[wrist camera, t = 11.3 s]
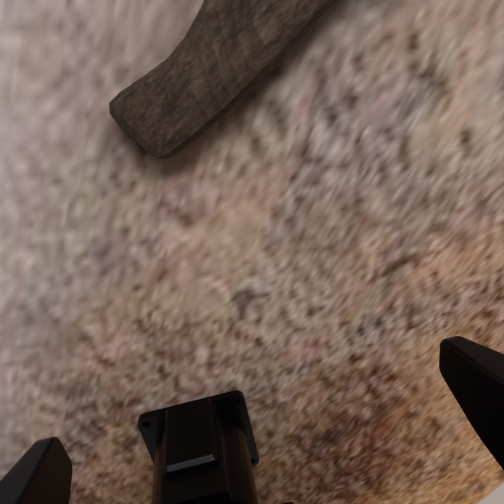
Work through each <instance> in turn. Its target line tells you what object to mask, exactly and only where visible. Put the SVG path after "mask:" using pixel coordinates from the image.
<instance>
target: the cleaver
mask: <svg viewBox="0 0 504 504" xmlns="http://www.w3.org/2000/svg"><path fill="white" fill-rule="evenodd" d="M334 1H335V0H204V2H203V4H202V6H201V8H200V10H199V12H198V14H197V16H196V18H195V19H194V21H193V23H192V25H191V27H190V29H189V31H188V32H187V34H186V36H185V38H184V39H183V40H182V41H181V43H180V44H179V45H178V46H177V47H176V49H175V50H174V51H173V52H172V54H171V55H170V56H169V57H168V58H167V59H166V60H165V61H163V62H162V63H161V64H159V65H158V66H157V67H155V68H154V69H153V70H151V71H150V72H149V73H147V74H146V75H145V76H143V77H142V78H141V79H139V80H138V81H136V82H135V83H133V84H132V85H130V86H129V87H127V88H126V89H124V90H123V91H121V92H120V93H119V94H118V95H117V96H116V97H115V98H114V99H113V100H112V101H111V102H110V103H109V106H110V114H111V115H112V117H113V118H114V119H115V121H116V122H117V123H118V125H119V126H120V127H121V128H122V129H123V130H124V131H125V132H126V133H127V134H128V135H129V136H130V137H131V138H132V139H133V140H135V141H136V142H137V143H138V144H139V145H140V146H141V147H142V148H143V149H145V150H146V151H147V152H148V153H150V154H152V155H153V156H155V157H156V158H169V157H170V156H172V155H174V154H175V153H177V152H179V151H180V150H182V149H183V148H184V147H186V146H187V145H188V144H189V143H191V142H192V141H193V140H194V139H196V138H197V137H198V136H199V135H201V134H202V133H203V132H204V131H205V130H206V129H208V128H209V127H210V126H211V125H212V124H213V123H214V122H216V121H217V120H218V119H219V118H220V117H221V116H222V115H223V114H225V113H226V112H227V111H228V110H229V109H230V108H231V107H232V106H233V105H234V104H235V103H236V102H237V101H238V100H239V99H240V98H242V97H243V96H244V95H245V94H246V93H247V92H248V91H249V90H250V89H251V88H252V87H253V86H254V85H255V84H256V83H257V82H258V81H259V80H260V79H261V78H262V77H263V76H264V75H265V74H266V73H267V72H268V71H269V70H270V69H271V68H272V67H273V66H274V65H275V64H276V63H277V61H278V60H279V59H280V58H281V57H282V56H283V55H284V54H285V53H286V52H287V51H288V50H289V49H290V48H291V47H292V46H293V45H294V44H295V43H296V42H297V41H298V40H299V39H300V38H301V37H302V36H303V34H304V33H305V32H306V31H307V30H308V29H309V28H310V27H311V26H312V25H313V24H314V23H315V22H316V21H317V20H318V18H319V17H320V16H321V15H322V14H323V13H324V12H325V11H326V10H327V9H328V8H329V7H330V6H331V4H332V3H333V2H334Z"/></svg>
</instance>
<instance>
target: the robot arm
mask: <svg viewBox="0 0 504 504" xmlns="http://www.w3.org/2000/svg"><path fill="white" fill-rule="evenodd" d="M439 368H440V372H441V374H442V377H443V378H444V380H445V382H446V383H447V385H448V387H449V388H450V390H451V392H452V393H453V395H454V397H455V398H456V400H457V402H458V403H459V405H460V407H461V408H462V410H463V412H464V413H465V415H466V417H467V418H468V420H469V422H470V423H471V425H472V427H473V428H474V430H475V431H476V433H477V434H478V436H479V437H480V439H481V440H482V442H483V443H484V444H485V446H486V447H487V448H488V450H489V451H490V452H491V454H492V455H493V457H494V458H495V459H496V461H497V462H498V463H499V465H500V466H501V467H502V469H503V470H504V354H502V353H500V352H497V351H495V350H492V349H490V348H488V347H485V346H483V345H480V344H478V343H475V342H473V341H471V340H468V339H466V338H463V337H461V336H454V337H450V338H446V339H443V340H442V341H441V343H440V357H439ZM235 398H238V399H237V400H233V399H235ZM144 421H149V422H144ZM138 427H139V429H140V432H141V434H142V437H143V439H144V441H145V444H146V446H147V449H148V451H149V453H150V456H151V458H152V461H153V463H154V476H153V490H152V504H259V503H258V498H257V492H256V486H255V481H254V475H253V469H252V467H253V466H255V465H257V464H258V462H259V457H258V452H257V448H256V444H255V440H254V436H253V432H252V427H251V423H250V419H249V415H248V411H247V407H246V403H245V399H244V395H243V393H242V392H241V391H238V390H236V391H231V392H227V393H223V394H219V395H215V396H211V397H207V398H203V399H199V400H195V401H191V402H187V403H183V404H179V405H175V406H171V407H167V408H163V409H159V410H155V411H151V412H147V413H144V414H141V415H140V416H139V419H138ZM71 479H72V463H71V460H70V458H69V456H68V454H67V452H66V450H65V449H64V447H63V445H62V443H61V441H60V440H59V439H58V438H57V437H50V438H46V439H42V440H39V441H37V442H35V443H34V444H33V445H32V446H31V447H30V449H29V450H28V451H27V452H26V453H25V454H24V455H23V456H22V457H21V459H20V460H19V461H18V462H17V463H16V464H15V465H14V466H13V467H12V468H11V470H10V471H9V472H8V473H7V474H6V475H5V476H4V477H3V478H2V480H1V481H0V504H69V498H70V488H71ZM282 504H294V503H293V502H286V503H282Z"/></svg>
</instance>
